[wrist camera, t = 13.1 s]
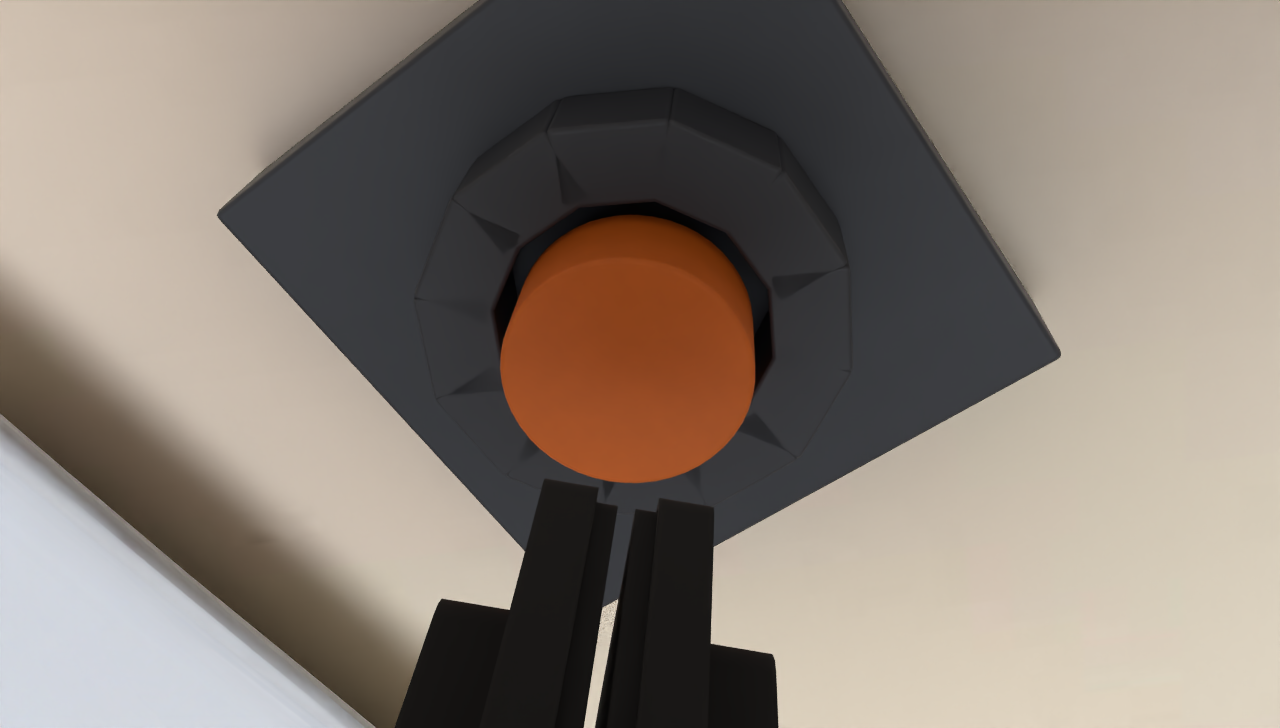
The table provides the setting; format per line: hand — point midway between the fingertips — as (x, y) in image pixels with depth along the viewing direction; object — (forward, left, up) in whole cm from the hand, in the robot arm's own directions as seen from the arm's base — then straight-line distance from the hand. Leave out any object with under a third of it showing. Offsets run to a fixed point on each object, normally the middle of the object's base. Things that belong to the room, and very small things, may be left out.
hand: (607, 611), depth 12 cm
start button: (0, 0, -7) cm, 7 cm away
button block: (0, 0, -11) cm, 11 cm away
